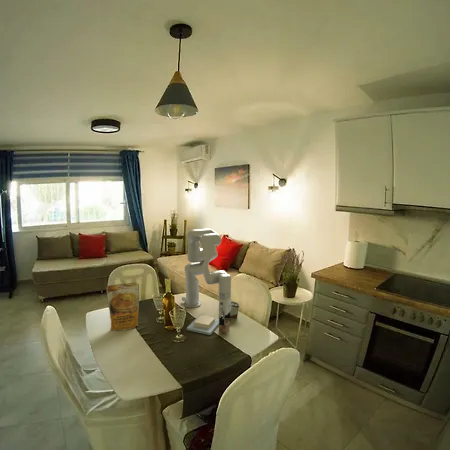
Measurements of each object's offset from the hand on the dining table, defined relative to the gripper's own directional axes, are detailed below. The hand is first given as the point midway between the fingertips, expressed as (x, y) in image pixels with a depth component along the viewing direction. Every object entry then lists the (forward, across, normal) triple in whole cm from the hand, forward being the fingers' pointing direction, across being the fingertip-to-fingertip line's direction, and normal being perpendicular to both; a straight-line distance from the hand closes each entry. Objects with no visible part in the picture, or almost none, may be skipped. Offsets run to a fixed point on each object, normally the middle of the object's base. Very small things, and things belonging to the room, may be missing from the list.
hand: (224, 321), depth 174 cm
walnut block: (+7, 0, +1) cm, 7 cm away
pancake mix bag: (+6, -18, +60) cm, 63 cm away
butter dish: (+6, +2, +14) cm, 16 cm away
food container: (+7, +20, +4) cm, 22 cm away
